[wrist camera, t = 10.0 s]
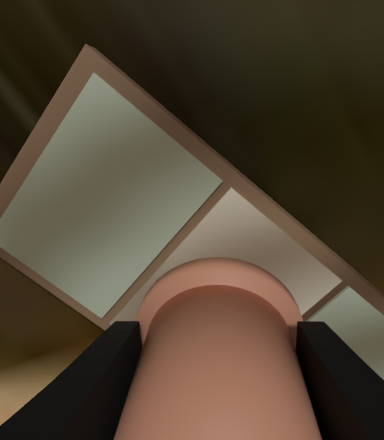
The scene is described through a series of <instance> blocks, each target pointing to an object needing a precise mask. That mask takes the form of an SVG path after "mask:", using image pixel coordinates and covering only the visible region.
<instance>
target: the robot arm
mask: <svg viewBox="0 0 384 440" xmlns="http://www.w3.org/2000/svg"><path fill="white" fill-rule="evenodd" d="M141 351H142V340H141V332H140V325H139V321H115V322H114V323H113V324H112V325H111V326H110V327H109V328H107V329H106V330H105V331H104V332H103V333H102V334H101V335H100V336H99V337H98V338H97V339H96V340H95V341H94V342H93V343H92V344H91V345H90V346H89V347H88V348H87V349H86V350H85V351H84V352H83V353H82V354H81V355H80V356H79V357H78V358H76V359H75V360H74V361H73V362H72V363H71V364H70V365H69V366H68V367H67V368H66V369H65V370H64V371H63V372H62V373H61V374H59V375H58V376H57V377H56V378H55V379H54V380H53V381H52V382H51V383H50V384H49V385H47V386H46V387H45V388H44V389H43V390H42V391H40V392H39V393H38V394H37V395H36V396H35V397H34V398H32V399H31V400H30V401H29V402H28V403H27V404H25V405H24V406H23V407H22V408H21V409H20V410H19V411H17V412H16V413H15V414H14V415H13V416H12V417H10V418H9V419H8V420H7V421H6V422H4V423H3V424H2V425H1V426H0V440H114V437H115V434H116V431H117V427H118V424H119V421H120V418H121V415H122V411H123V408H124V405H125V402H126V399H127V395H128V392H129V389H130V386H131V383H132V380H133V376H134V373H135V370H136V367H137V364H138V360H139V357H140V354H141ZM296 354H297V357H298V360H299V364H300V367H301V370H302V374H303V377H304V380H305V384H306V387H307V390H308V394H309V397H310V400H311V404H312V407H313V410H314V414H315V417H316V420H317V424H318V427H319V431H320V434H321V437H322V440H384V380H383V379H382V378H381V377H380V376H379V375H378V374H377V373H376V372H375V371H374V370H373V369H372V368H371V367H369V366H368V365H367V364H366V363H365V362H364V361H363V360H362V359H361V358H360V357H359V356H358V355H357V354H356V353H355V352H354V351H353V350H352V349H351V348H350V347H349V346H348V345H347V344H346V343H345V342H344V341H343V340H342V339H341V338H340V337H339V336H338V335H337V334H336V333H335V332H334V331H333V330H332V329H331V328H330V327H329V326H328V325H327V324H326V323H325V322H324V321H297V336H296Z"/></svg>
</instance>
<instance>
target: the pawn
mask: <svg viewBox="0 0 384 440" xmlns="http://www.w3.org/2000/svg"><path fill="white" fill-rule="evenodd" d="M135 321H139V325H140V332H141V340H142V351H141V354H140V357H139V360H138V364H137V367H136V370H135V373H134V376H133V380H132V383H131V386H130V389H129V392H128V395H127V399H126V402H125V405H124V408H123V411H122V415H121V418H120V421H119V424H118V427H117V431H116V434H115V437H114V440H322V437H321V434H320V431H319V427H318V424H317V420H316V417H315V414H314V410H313V407H312V404H311V400H310V397H309V394H308V390H307V387H306V384H305V380H304V377H303V374H302V370H301V367H300V364H299V360H298V357H297V354H296V336H297V321H303V319H302V316H301V313H300V311H299V308H298V305H297V303H296V301H295V299H294V297H293V296H292V294H291V293H290V291H289V290H288V289H287V287H286V286H285V285H284V284H283V283H282V282H281V281H280V280H279V279H278V278H276V277H275V276H274V275H272V274H271V273H270V272H268V271H266V270H265V269H263V268H261V267H259V266H257V265H254V264H252V263H249V262H246V261H242V260H239V259H233V258H224V257H210V258H201V259H196V260H192V261H189V262H186V263H183V264H181V265H178V266H176V267H174V268H172V269H171V270H169V271H168V272H166V273H164V274H163V275H162V276H161V277H160V278H158V279H157V280H156V281H155V283H154V284H153V285H152V286H151V287H150V288H149V290H148V292H147V293H146V295H145V297H144V299H143V301H142V303H141V306H140V308H139V311H138V313H137V316H136V319H135Z"/></svg>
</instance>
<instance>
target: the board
mask: <svg viewBox="0 0 384 440" xmlns="http://www.w3.org/2000/svg"><path fill="white" fill-rule="evenodd" d="M0 257H1V258H2V259H4V260H5V261H6V262H8V263H9V264H11V265H12V266H14V267H15V268H16V269H18V270H19V271H21V272H22V273H24V274H25V275H26V276H28V277H29V278H31V279H32V280H34V281H35V282H36V283H38V284H39V285H41V286H42V287H44V288H45V289H46V290H48V291H49V292H51V293H52V294H54V295H55V296H56V297H58V298H59V299H61V300H62V301H64V302H65V303H66V304H68V305H69V306H71V307H72V308H74V309H75V310H76V311H78V312H79V313H81V314H82V315H84V316H85V317H86V318H88V319H89V320H91V321H92V322H94V323H95V324H96V325H98V326H99V327H101V328H102V329H104V330H106V329H107V328H109V327H110V326H111V325H112V324H113V323H114V322H115V321H135V319H136V316H137V313H138V311H139V308H140V306H141V303H142V301H143V299H144V297H145V295H146V293H147V292H148V290H149V288H150V287H151V286H152V285H153V284H154V283H155V281H156V280H157V279H158V278H160V277H161V276H162V275H163V274H164V273H166V272H168V271H169V270H171V269H172V268H174V267H176V266H178V265H181V264H183V263H186V262H189V261H192V260H196V259H201V258H210V257H224V258H233V259H239V260H242V261H246V262H249V263H252V264H254V265H257V266H259V267H261V268H263V269H265V270H266V271H268V272H270V273H271V274H272V275H274V276H275V277H276V278H278V279H279V280H280V281H281V282H282V283H283V284H284V285H285V286H286V287H287V289H288V290H289V291H290V293H291V294H292V296H293V297H294V299H295V301H296V303H297V305H298V308H299V311H300V313H301V316H302V319H303V321H324V322H325V323H326V324H327V325H328V326H329V327H330V328H331V329H332V330H333V331H334V332H335V333H336V334H337V335H338V336H339V337H340V338H341V339H342V340H343V341H344V342H345V343H346V344H347V345H348V346H349V347H350V348H351V349H352V350H353V351H354V352H355V353H356V354H357V355H358V356H359V357H360V358H361V359H362V360H363V361H364V362H365V363H366V364H367V365H368V366H369V367H371V368H372V369H373V370H374V371H375V372H376V373H377V374H378V375H379V376H380V377H381V378H382V379H383V380H384V294H383V293H381V292H380V291H379V290H378V289H377V288H376V287H374V286H373V285H372V284H371V283H370V282H369V281H367V280H366V279H365V278H364V277H363V276H362V275H360V274H359V273H358V272H357V271H356V270H355V269H353V268H352V267H351V266H350V265H349V264H348V263H346V262H345V261H344V260H343V259H342V258H340V257H339V256H338V255H337V254H336V253H335V252H333V251H332V250H331V249H330V248H329V247H328V246H326V245H325V244H324V243H323V242H322V241H321V240H319V239H318V238H317V237H316V236H315V235H314V234H312V233H311V232H310V231H309V230H308V229H307V228H305V227H304V226H303V225H302V224H301V223H299V222H298V221H297V220H296V219H295V218H294V217H292V216H291V215H290V214H289V213H288V212H287V211H285V210H284V209H283V208H282V207H281V206H280V205H278V204H277V203H276V202H275V201H274V200H273V199H271V198H270V197H269V196H268V195H267V194H266V193H264V192H263V191H262V190H261V189H260V188H258V187H257V186H256V185H255V184H254V183H253V182H251V181H250V180H249V179H248V178H247V177H246V176H244V175H243V174H242V173H241V172H240V171H239V170H237V169H236V168H235V167H234V166H233V165H232V164H230V163H229V162H228V161H227V160H226V159H225V158H223V157H222V156H221V155H220V154H219V153H217V152H216V151H215V150H214V149H213V148H212V147H210V146H209V145H208V144H207V143H206V142H205V141H203V140H202V139H201V138H200V137H199V136H198V135H196V134H195V133H194V132H193V131H192V130H191V129H189V128H188V127H187V126H186V125H185V124H184V123H182V122H181V121H180V120H179V119H178V118H176V117H175V116H174V115H173V114H172V113H171V112H169V111H168V110H167V109H166V108H165V107H164V106H162V105H161V104H160V103H159V102H158V101H157V100H155V99H154V98H153V97H152V96H151V95H150V94H148V93H147V92H146V91H145V90H144V89H143V88H141V87H140V86H139V85H138V84H137V83H135V82H134V81H133V80H132V79H131V78H130V77H128V76H127V75H126V74H125V73H124V72H123V71H121V70H120V69H119V68H118V67H117V66H116V65H114V64H113V63H112V62H111V61H110V60H109V59H107V58H106V57H105V56H104V55H103V54H101V53H100V52H99V51H98V50H97V49H96V48H93V47H91V46H89V45H87V44H85V46H84V47H83V49H82V51H81V52H80V54H79V56H78V57H77V59H76V60H75V62H74V64H73V65H72V67H71V69H70V70H69V72H68V74H67V75H66V77H65V79H64V80H63V82H62V83H61V85H60V87H59V88H58V90H57V92H56V93H55V95H54V97H53V98H52V100H51V101H50V103H49V105H48V106H47V108H46V110H45V111H44V113H43V115H42V116H41V118H40V120H39V121H38V123H37V124H36V126H35V128H34V129H33V131H32V133H31V134H30V136H29V138H28V139H27V141H26V142H25V144H24V146H23V147H22V149H21V151H20V152H19V154H18V156H17V157H16V159H15V161H14V162H13V164H12V165H11V167H10V169H9V170H8V172H7V174H6V175H5V177H4V179H3V180H2V182H1V184H0Z"/></svg>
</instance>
